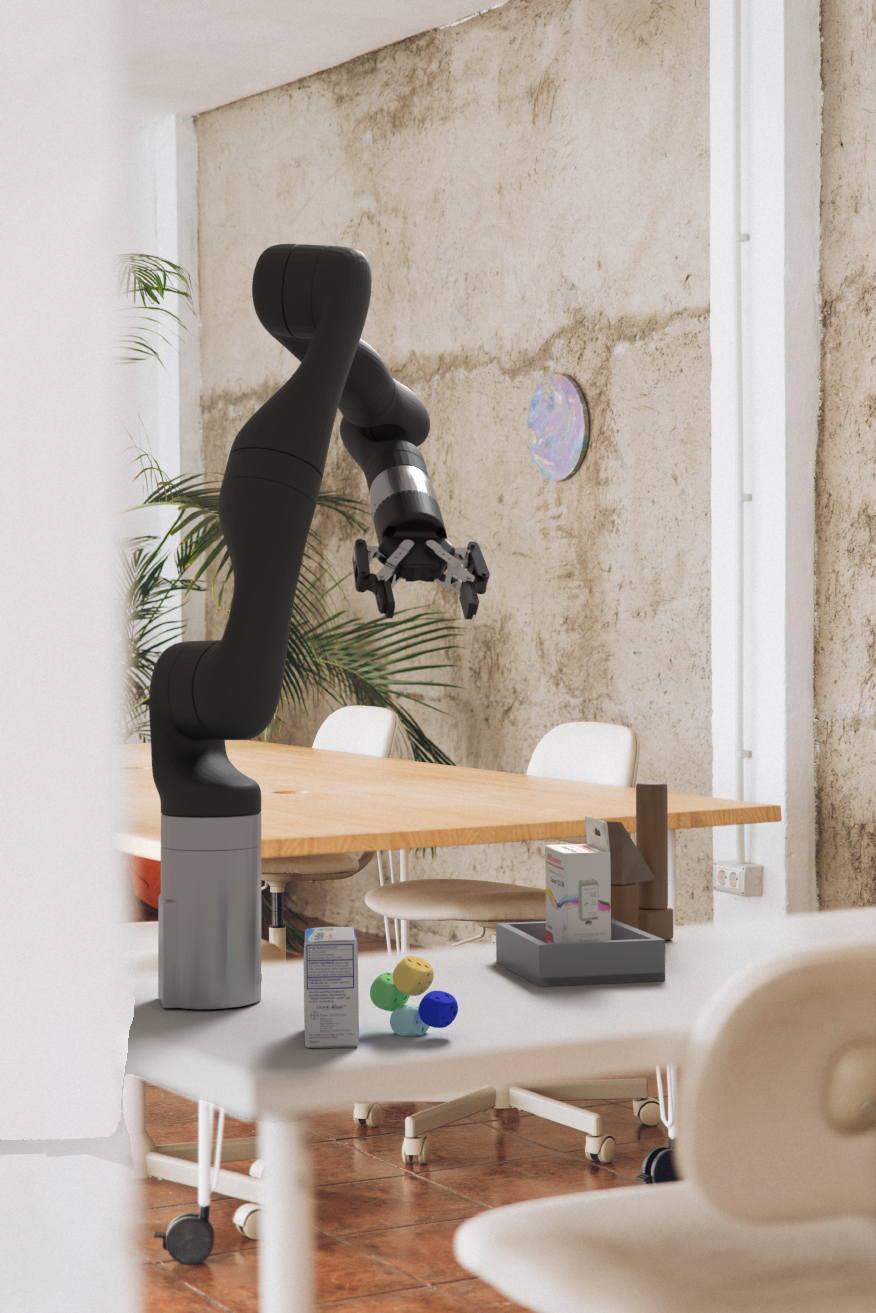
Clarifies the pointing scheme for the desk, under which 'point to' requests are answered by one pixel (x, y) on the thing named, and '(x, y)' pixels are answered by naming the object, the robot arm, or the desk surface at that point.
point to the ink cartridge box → (579, 888)
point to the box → (580, 956)
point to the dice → (414, 981)
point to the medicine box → (331, 988)
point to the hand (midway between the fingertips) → (431, 613)
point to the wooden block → (642, 865)
